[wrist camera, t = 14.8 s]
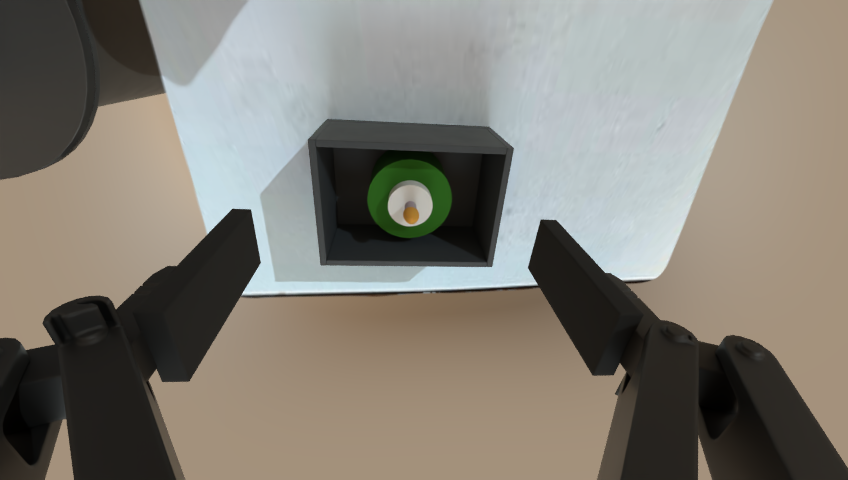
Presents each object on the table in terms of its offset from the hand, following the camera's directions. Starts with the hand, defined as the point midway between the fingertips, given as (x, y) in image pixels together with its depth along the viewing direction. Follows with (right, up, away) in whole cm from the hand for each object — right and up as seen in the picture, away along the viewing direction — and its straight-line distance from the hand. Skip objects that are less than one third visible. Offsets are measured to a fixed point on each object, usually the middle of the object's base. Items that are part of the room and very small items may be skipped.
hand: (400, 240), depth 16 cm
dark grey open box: (-1, +7, +24) cm, 25 cm away
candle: (-1, +7, +23) cm, 24 cm away
